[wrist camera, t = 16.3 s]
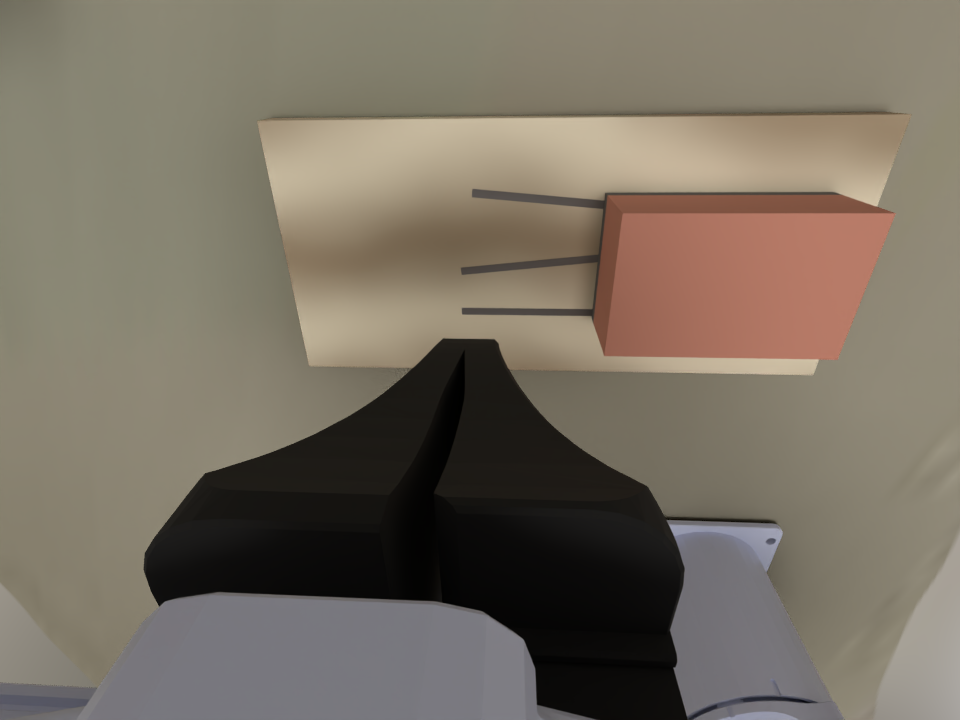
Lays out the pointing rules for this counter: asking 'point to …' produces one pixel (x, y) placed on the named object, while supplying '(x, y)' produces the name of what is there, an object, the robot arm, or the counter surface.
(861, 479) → the counter surface
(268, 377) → the counter surface
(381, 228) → the plank
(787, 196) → the block
